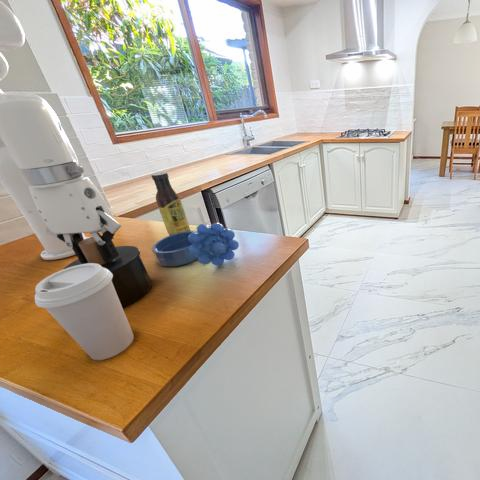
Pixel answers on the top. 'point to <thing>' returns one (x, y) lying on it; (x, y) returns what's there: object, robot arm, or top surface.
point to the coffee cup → (87, 309)
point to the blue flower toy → (212, 244)
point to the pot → (131, 283)
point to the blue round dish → (174, 250)
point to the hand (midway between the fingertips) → (100, 258)
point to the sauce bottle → (170, 205)
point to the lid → (93, 256)
